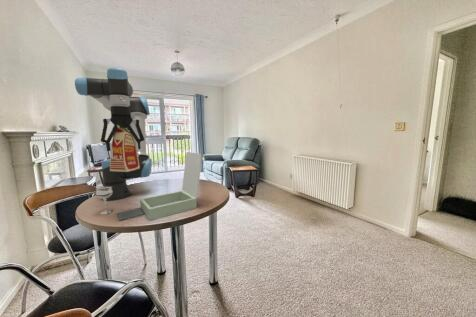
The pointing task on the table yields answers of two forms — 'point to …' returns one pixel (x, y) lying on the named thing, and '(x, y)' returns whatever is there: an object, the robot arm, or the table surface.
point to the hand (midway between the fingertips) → (125, 157)
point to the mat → (130, 214)
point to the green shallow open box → (168, 209)
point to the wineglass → (104, 196)
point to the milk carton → (123, 151)
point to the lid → (192, 173)
